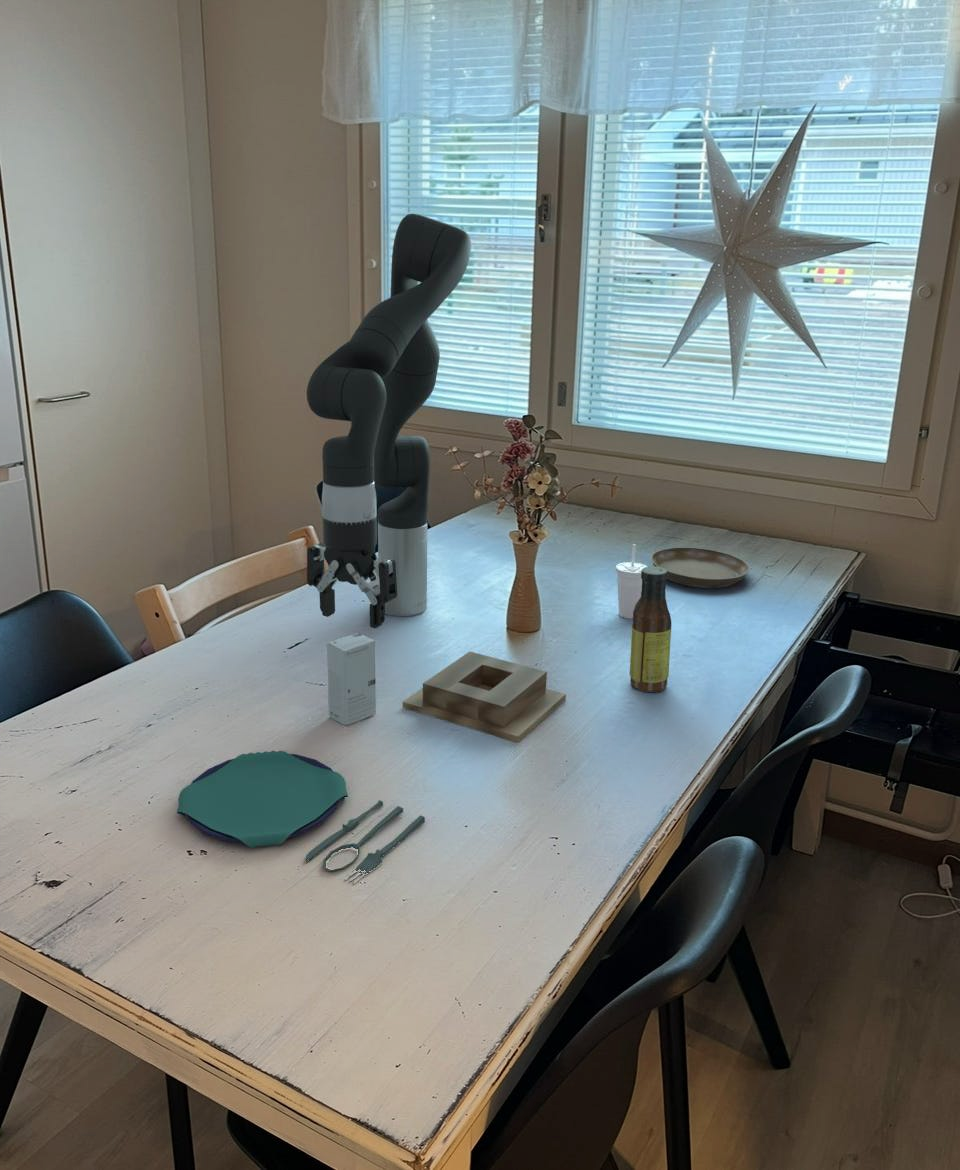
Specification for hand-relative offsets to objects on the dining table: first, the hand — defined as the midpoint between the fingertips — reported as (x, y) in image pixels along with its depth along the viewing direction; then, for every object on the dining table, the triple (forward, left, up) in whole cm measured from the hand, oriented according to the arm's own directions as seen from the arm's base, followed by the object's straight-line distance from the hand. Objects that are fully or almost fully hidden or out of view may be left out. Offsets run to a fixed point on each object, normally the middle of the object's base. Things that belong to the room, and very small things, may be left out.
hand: (352, 620), depth 143 cm
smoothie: (+20, +61, -16) cm, 66 cm away
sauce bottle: (+34, +34, -16) cm, 50 cm away
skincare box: (0, 0, -16) cm, 16 cm away
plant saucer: (+24, +91, -16) cm, 95 cm away
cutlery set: (+10, -25, -16) cm, 32 cm away
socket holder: (+15, +14, -15) cm, 25 cm away
